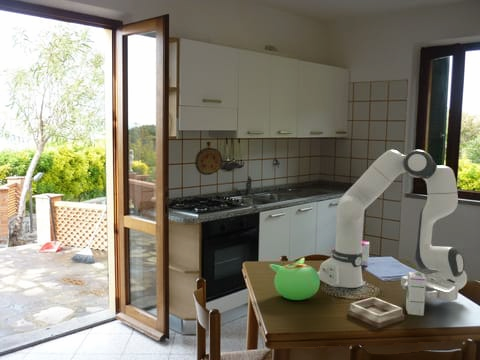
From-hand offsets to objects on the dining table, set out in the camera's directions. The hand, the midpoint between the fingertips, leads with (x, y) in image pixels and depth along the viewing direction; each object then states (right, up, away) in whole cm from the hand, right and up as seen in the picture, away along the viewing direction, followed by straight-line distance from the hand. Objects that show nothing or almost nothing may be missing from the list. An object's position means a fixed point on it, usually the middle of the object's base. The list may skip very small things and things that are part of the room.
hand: (415, 291), depth 170 cm
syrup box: (0, -8, +1) cm, 8 cm away
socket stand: (-16, -8, -4) cm, 18 cm away
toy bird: (-43, -6, +12) cm, 45 cm away
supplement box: (-4, -1, +60) cm, 60 cm away
